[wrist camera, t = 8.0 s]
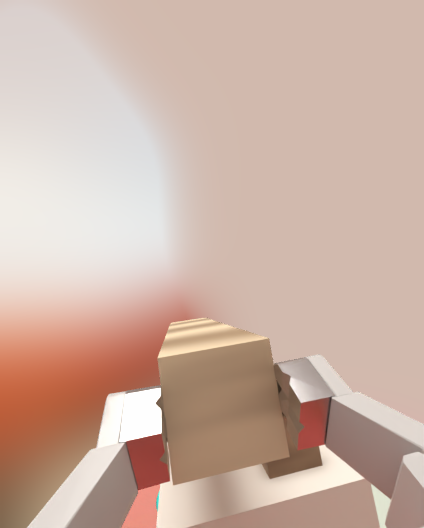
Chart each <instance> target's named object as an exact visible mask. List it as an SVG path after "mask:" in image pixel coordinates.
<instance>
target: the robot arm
mask: <svg viewBox="0 0 424 528" xmlns="http://www.w3.org/2000/svg"><path fill="white" fill-rule="evenodd" d="M274 373H275V378H276V381H277V387H278V393H279V394H278V396H279V402H280V408H281V411H282V416H283V418H284V419H286V420H287V430H288V432H289V434H290V436H291V438H292V440H293V442H294V445H295V447H296V449H297V450H302V449H306V448H311V447H316V446H321V445H325V446H326V447H327V448H328V449H329V450H330V451H332V452H333V453H334V454H335V455H337V456H338V457H339V458H340V459H342V460H343V461H344V462H345V463H346V464H348V465H349V466H350V467H351V468H353V469H354V470H355V471H356V472H357V473H359V474H360V475H361V476H362V477H364V478H365V479H366V480H367V481H369V482H370V483H371V484H372V485H373V486H375V487H376V488H377V489H378V490H380V491H381V492H382V493H383V494H384V495H386V496H387V497H388V498H389V499H391V501H390V505H389V508H388V512H387V515H386V520H385V525H386V527H387V528H424V424H422V423H420V422H418V421H416V420H414V419H412V418H410V417H408V416H406V415H404V414H402V413H400V412H398V411H396V410H394V409H392V408H390V407H388V406H386V405H384V404H382V403H380V402H378V401H376V400H374V399H372V398H370V397H368V396H366V395H364V394H362V393H360V392H353V391H352V390H351V389H350V388H349V387H348V386H347V384H346V383H345V382H344V381H343V380H342V378H341V377H340V376H339V375H338V374H337V373H336V371H335V370H334V369H333V368H332V367H331V365H330V364H329V363H328V362H327V361H326V360H325V358H324V357H323V356H321V355H314V356H309V357H304V358H300V359H294V360H289V361H284V362H279V363H275V364H274ZM167 442H168V441H167V426H166V418H165V416H164V404H163V393H162V386H161V385H160V386H153V387H147V388H141V389H135V390H129V391H126V392H119V393H113V394H109V395H108V397H107V399H106V403H105V408H104V413H103V418H102V423H101V427H100V432H99V437H98V442H97V447H96V448H95V449H91V450H90V451H89V452H88V453H87V455H86V456H85V457H84V458H83V459H82V461H81V462H80V463H79V464H78V465H77V467H76V468H75V469H74V470H73V472H72V473H71V474H70V475H69V477H68V478H67V479H66V480H65V481H64V483H63V484H62V485H61V487H60V488H59V489H58V490H57V491H56V493H55V494H54V495H53V496H52V498H51V499H50V500H49V501H48V502H47V504H46V505H45V506H44V507H43V509H42V510H41V511H40V512H39V514H38V515H37V516H36V517H35V519H34V520H33V521H32V522H31V523H30V525H29V526H28V527H27V528H121V527H122V525H123V523H124V521H125V518H126V516H127V514H128V512H129V510H130V508H131V506H132V504H133V502H134V500H135V498H136V496H137V494H138V490H140V489H144V488H148V487H151V486H155V485H158V484H162V483H166V482H169V481H170V464H169V452H168V446H167Z"/></svg>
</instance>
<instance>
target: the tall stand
mask: <svg viewBox="0 0 424 528" xmlns="http://www.w3.org/2000/svg"><path fill="white" fill-rule="evenodd" d="M167 446H168V442H167ZM319 449H320V454H321V459H322V464H323V465H322V466H318V467H315V468H311V469H307V470H303V471H299V472H295V473H292V474H288V475H284V476H280V477H276V478H272V479H270V478H269V477H268V475H267V473H266V471H265V469H264V468H263V466H262V464H259V465H255V466H251V467H247V468H243V469H239V470H234V471H230V472H226V473H222V474H218V475H214V476H210V477H206V478H202V479H198V480H194V481H190V482H186V483H182V484H178V485H173V482H172V474H171V466H170V481H169V482H166V483H162V484H160V493H159V504H158V515H157V526H156V528H380V525H379V520H378V515H377V511H376V506H375V501H374V497H373V492H372V487H371V483H370V482H369V481H367V480H366V479H365V478H364V477H362V476H361V475H360V474H359V473H357V472H356V471H355V470H354V469H353V468H351V467H350V466H349V465H348V464H346V463H345V462H344V461H343V460H342V459H340V458H339V457H338V456H337V455H335V454H334V453H333V452H332V451H330V450H329V449H328V448H327V447H326V446H325V445H321V446H319ZM168 452H169V449H168ZM169 464H170V457H169Z"/></svg>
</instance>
